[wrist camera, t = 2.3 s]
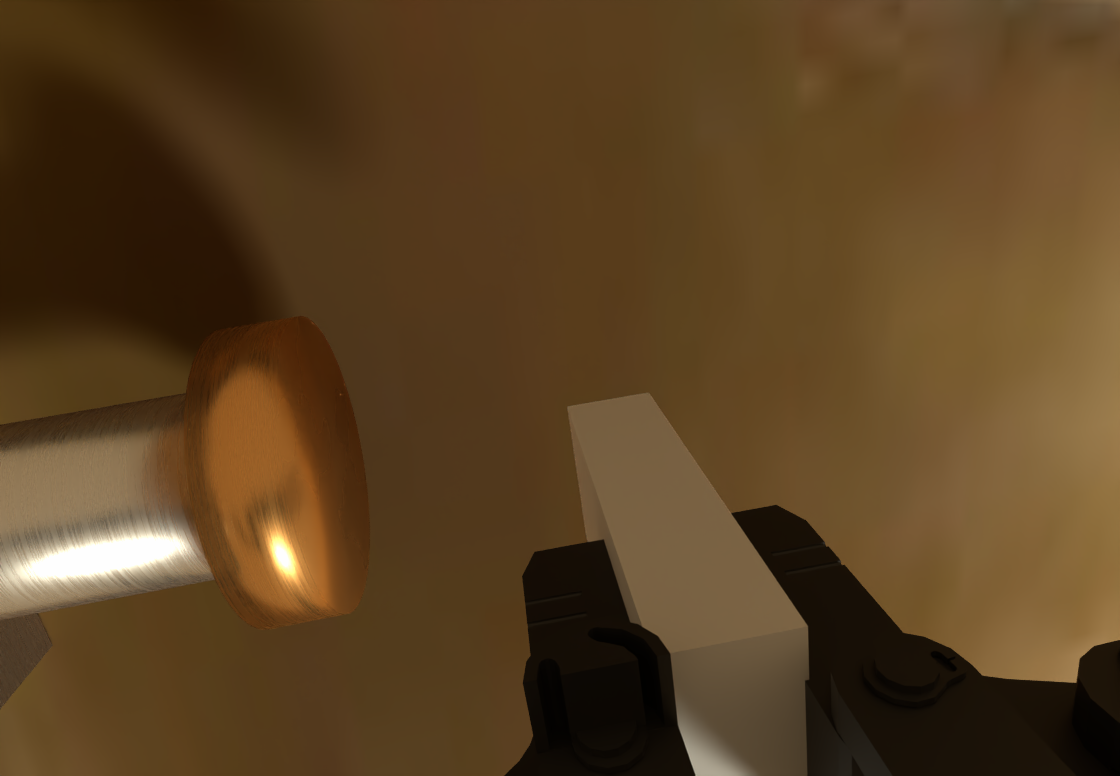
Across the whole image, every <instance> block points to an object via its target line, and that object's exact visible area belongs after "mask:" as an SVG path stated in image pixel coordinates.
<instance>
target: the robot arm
mask: <svg viewBox="0 0 1120 776" xmlns="http://www.w3.org/2000/svg"><path fill="white" fill-rule="evenodd" d="M567 408H568V415H569V422H570V429H571V436H572V442H573V449H574V456H575V463H576V470H577V476H578V483H579V490H580V497H581V504H582V510H583V517H584V524H585V531H586V537H587V541H588V542H586V543H581V544H575V545H570V546H564V547H559V548H554V549H548V550H543V551H537V552H534V554H533V556H532V558H531V560H530V562H529V564H528V566H527V568H526V570H525V572H524V574H523V576H522V578H523V587H524V596H525V604H526V615H527V624H528V634H529V643H530V653H531V656H530V657H529V659H528V660H527V662H526V668H525V673H524V679H523V686H524V691H525V696H526V701H527V706H528V711H529V716H530V721H531V726H532V731H533V738H532V741H531V744H530V746H529V747H528V749H527V750H526V752H525V753H524V755H523V756H522V758H521V759H520V761H519V762H518V763H517V764H516V765H515V766H514V767H513V768H512V769H511V770H510V771H509V772H508V773H507V774H506V775H505V776H1120V640H1118V641H1114V642H1109V643H1105V644H1101V645H1097V646H1094V647H1093V648H1091V649H1090V650H1089V651H1088V652H1087V653H1086V654H1085V655H1084V656H1082V657H1081V658H1080V662H1079V669H1078V676H1077V683H1068V682H1050V681H1032V680H1014V679H1003V678H995V677H988V676H982V675H981V674H980V673H979V672H978V671H977V670H976V669H975V667H974V666H973V665H971V664H970V663H969V662H968V661H966V660H965V659H964V658H962V657H961V656H960V655H959V654H957V653H956V652H955V651H953V650H952V649H951V648H949V647H946V646H944V645H942V644H939V643H937V642H935V641H933V640H930V639H928V638H926V637H922V636H917V635H912V634H906V633H903V632H902V631H901V630H900V628H899V627H898V626H897V625H896V624H895V623H894V622H893V620H892V619H891V618H890V617H889V616H888V615H887V613H886V612H885V611H884V610H883V609H882V608H881V607H880V605H879V604H878V603H877V602H876V601H875V600H874V598H873V597H872V596H871V595H870V594H869V593H868V592H867V590H866V589H865V588H864V587H863V586H862V585H861V583H860V582H859V581H858V580H857V579H856V578H855V576H854V575H853V574H852V573H851V572H850V571H849V570H848V568H847V567H846V566H845V565H841V561H840V559H839V558H838V557H837V556H836V555H835V553H834V552H833V551H832V550H831V549H830V548H829V546H828V547H826V546H825V542H824V541H823V540H822V538H821V537H820V536H819V535H818V534H817V533H816V531H815V530H814V529H813V528H812V527H811V526H810V525H809V523H808V522H807V521H806V520H804V519H802V518H800V517H798V516H796V515H795V514H793V513H791V512H789V511H787V510H785V509H783V508H781V507H779V506H777V505H773V506H768V507H762V508H757V509H751V510H746V511H741V512H735V513H730V511H729V510H728V508H727V507H726V505H725V504H724V502H723V501H722V499H721V498H720V497H719V495H718V494H717V492H716V491H715V489H714V488H713V486H712V485H711V483H710V482H709V480H708V479H707V477H706V476H705V475H704V473H703V472H702V470H701V469H700V467H699V466H698V464H697V463H696V461H695V460H694V458H693V457H692V455H691V454H690V453H689V451H688V450H687V448H686V447H685V445H684V444H683V442H682V441H681V439H680V438H679V436H678V435H677V433H676V432H675V430H674V429H673V428H672V426H671V425H670V423H669V422H668V420H667V419H666V417H665V416H664V414H663V413H662V411H661V410H660V408H659V407H658V406H657V404H656V403H655V401H654V400H653V398H652V397H651V395H650V394H649V393H644V394H638V395H632V396H626V397H620V398H615V399H609V400H603V401H597V402H591V403H586V404H580V405H574V406H568V407H567Z"/></svg>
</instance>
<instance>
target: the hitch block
mask: <svg viewBox="0 0 1120 776" xmlns="http://www.w3.org/2000/svg"><path fill="white" fill-rule="evenodd" d="M51 647H52V644H51V641H50V639H49V637H48V635H47V633H46V631H45V629H44V627H43V625H42V622H41V620H40V618H39V616H38V614H37V613H35V614H30V615H25V616H19V617H14V618H9V619H3V620H0V709H1V708H2V706H3V705H4V704H5V703H6V701H7V700H8V699H9V698H10V697H11V695H12V694H13V693H14V692H15V690H16V689H17V688H18V687H19V686H20V684H21V683H22V682H23V681H24V680H25V678H26V677H27V676H28V675H29V673H30V672H31V671H32V670H33V669H34V667H35V666H36V665H37V664H38V662H39V661H40V660H41V659H42V658H43V656H44V655H45V654H46V653H47V652H48V650H49V649H50V648H51Z"/></svg>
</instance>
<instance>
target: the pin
mask: <svg viewBox="0 0 1120 776" xmlns="http://www.w3.org/2000/svg"><path fill="white" fill-rule="evenodd" d="M369 550H370V522H369V504H368V493H367V484H366V475H365V468H364V462H363V455H362V450H361V444H360V439H359V434H358V429H357V425H356V421H355V417H354V412H353V408H352V405H351V401H350V398H349V394H348V391H347V388H346V385H345V382H344V379H343V376H342V373H341V370H340V368H339V365H338V363H337V360H336V358H335V356H334V354H333V351H332V349H331V347H330V345H329V343H328V342H327V340H326V338H325V336H324V335H323V333H322V332H321V331H320V329H319V328H318V327H317V326H316V325H315V323H314V322H313V321H311V320H310V319H308V318H307V317H303V316H298V317H292V318H286V319H280V320H274V321H268V322H261V323H255V324H249V325H243V326H237V327H231V328H225V329H219V330H216V331H215V332H213V333H211V334H210V335H209V336H208V337H207V338H206V339H205V340H204V341H203V343H202V344H201V346H200V348H199V349H198V351H197V353H196V356H195V358H194V361H193V363H192V367H191V371H190V374H189V378H188V384H187V390H186V393H183V394H178V395H172V396H166V397H160V398H154V399H148V400H142V401H136V402H131V403H125V404H119V405H113V406H107V407H101V408H95V409H89V410H84V411H78V412H72V413H66V414H60V415H54V416H48V417H42V418H37V419H31V420H25V421H19V422H13V423H7V424H1V425H0V620H3V619H9V618H14V617H19V616H25V615H30V614H35V613H40V612H46V611H51V610H56V609H61V608H67V607H72V606H77V605H83V604H88V603H93V602H98V601H104V600H109V599H114V598H120V597H125V596H130V595H135V594H141V593H146V592H151V591H157V590H162V589H167V588H172V587H178V586H183V585H188V584H194V583H199V582H204V581H209V580H215V581H216V583H217V585H218V586H219V588H220V590H221V592H222V594H223V596H224V597H225V599H226V600H227V602H228V603H229V605H230V606H231V608H232V609H233V610H234V611H235V612H236V613H237V615H238V616H239V617H240V618H241V619H243V620H244V621H245V622H246V623H247V624H249V625H251V626H253V627H255V628H257V629H263V630H268V629H273V628H278V627H283V626H288V625H293V624H298V623H303V622H309V621H314V620H319V619H324V618H329V617H334V616H339V615H344V614H349V613H351V612H353V611H354V610H355V609H356V607H357V606H358V605H359V603H360V600H361V598H362V596H363V592H364V589H365V585H366V579H367V574H368V565H369Z"/></svg>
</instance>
